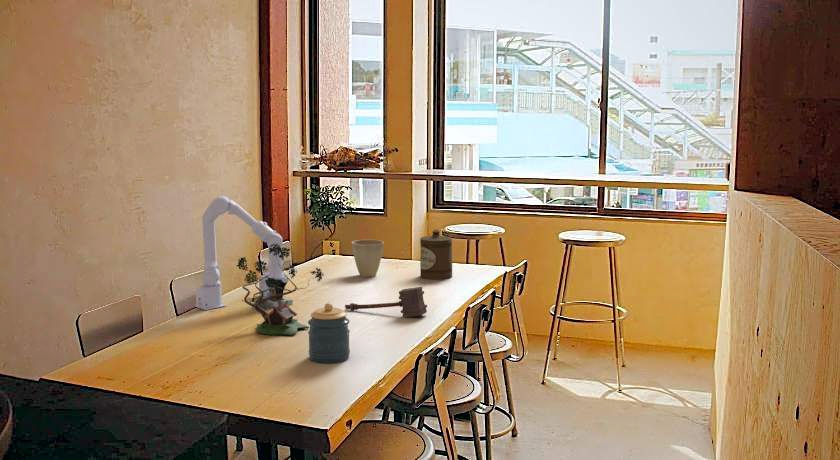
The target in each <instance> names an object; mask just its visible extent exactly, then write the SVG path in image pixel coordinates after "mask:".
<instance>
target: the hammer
mask: <svg viewBox="0 0 840 460" xmlns="http://www.w3.org/2000/svg"><path fill="white" fill-rule="evenodd" d="M398 293H399V296H398V300H399V301H398V302H396V301H395V302H385V303H373V304H372V303H371V304H358V303H354V302H352V303H349V304H345V305H344V309H345V310H350V311H357V310H362V309H368V310H369V309H382V308H392V307H393V308H394V307H400V308H402V309H401V310H400V313H401V314H402V318H411V317H421V316H423V315H425V314H426V313H427V312H428V310H427V308H428V304H425V300H424V295H425V291H424V290H423V286H417V287H411V288H410V287H409V288H402V289H401V290H398Z"/></svg>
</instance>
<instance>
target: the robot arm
mask: <svg viewBox="0 0 840 460" xmlns="http://www.w3.org/2000/svg"><path fill="white" fill-rule="evenodd" d="M225 213H227V214H228V215H234V216H236V217H238V218H239V219H241V221H243V222H244V223H245V224H247V225H248V226H250V228H251V233H253V234H254V235H255V236H257V237H258V238H259V239H260V240H261V241H262V242H264V243H267V247H268V249H269V248H272V249H273V247H274V245H273V246H272V247H271V244H276V243H277V244H278V245H280V248H283V245H284V244H283V237H282V236H281V234H280V233H278V232H277V230H273V229H272V228H271V227H270V226H269V225H268V222H266V221H262V220H257V219H256V218H254V217H253V216H252V215H251V214H250V213H248V212H247V211H246V210H245V209H244V208H243V207H242V206H241V205H240V204H238V202H235V201H234V200H233V199H230V198H229V197H228V196H226V195H223V194H222V195H219V196H217V197H216V198H215V199H213V200H212V201H211V202H210V203H209V205H208V206H207V208H206V210H205V211H204V212H203V214H202V235H203V236H202V238H203V242H202V243H203V256H204V258H203V259H204V261H203V262H204V264H203V273H202V276H201V280H202V283H201V285H200V286H198V287H197V286H196V289H195V307H196V308H198V309H201V310H203V311H204V310H205V311H208V310H212V309H218V308H224V307H227V304H224V303H222V302H223V301H222V282H221V281H220V280H219V279H220V277H221V275H222V274H221V270H220V268H219V265H218V263H219V262H218V258H217V239H216V220H217V219H218V218H219V217H220V216H222V215H224V214H225ZM278 247H279V246H278ZM274 250H275V249H274ZM277 251H278V250H277ZM269 252H270V251H269V250H268V252H267V262H268V263H267V264H268V271H265V272H263V275H264V277H266V276H267V274H268V275H269V274H270V275H269V276H267V277H266V278H268V280H265V282H266V284H267V281H271V279H272V278H273V279H274V278H275V279H274V280H277V279H278V281H279V283H281V284H282V285H281V284H279V285H278V284H277V286H278V287H280V288H284V289H286V285H287V284H288V283H289V282H290V281H289V279H288V278H289V277H288V276H287V277H288V278H287V277H286V276H285V275H286V273H285V272H284V273H285V274H284V273H283V271H284V270H283V271H282V269H281V268H283V269H284V260H282V258H279V256H278V255H280V254H281V252H280V254H278V253H277V255H276V253H275V255H274V252H272V253H269ZM276 257H277V258H276ZM278 262H279V263H278ZM279 264H280V265H279ZM280 267H281V268H280ZM275 283H277V282H275ZM267 285H268V288H270V286H269V285H270V284H269V283H268V284H267ZM274 286H275V285H274ZM274 286H272V287H274ZM275 288H276V287H275ZM280 288H277V289H278V290H276V289H275V290H276V295H277V294H281V293H284V291H285V290H284V289H280ZM269 291H270V294H271V289H269ZM280 298H282V296H279V297H277V299H280Z"/></svg>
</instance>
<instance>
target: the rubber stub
mask: <svg viewBox="0 0 840 460" xmlns="http://www.w3.org/2000/svg"><path fill="white" fill-rule="evenodd" d="M264 298H265V297H263V298H262V299H264ZM258 306H259V307H261V308H262V309H264V310H265V311H266V310H268V306H267V301H265V302H264V304H263V303H262V304H259V305H258Z"/></svg>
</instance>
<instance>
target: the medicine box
mask: <svg viewBox="0 0 840 460" xmlns="http://www.w3.org/2000/svg"><path fill="white" fill-rule="evenodd" d="M263 278H264V279H263ZM261 279H262V280H261ZM259 280H261V281H259ZM265 280H268V278H265V277H264V274H263V275H258V281H259V282H258V288H259V289H260V290H262V291H264V290H266V289H268V286H266V285H267V284H266V282H265ZM258 291H259V290H258ZM259 292H260V291H259ZM259 292H258V293H259ZM263 294H264V295H263V298H267V297H269V296H271V294H270V291H269V290H267V291H265V292H263ZM258 295H259V297H261V295H262V293H260V294H258Z"/></svg>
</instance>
